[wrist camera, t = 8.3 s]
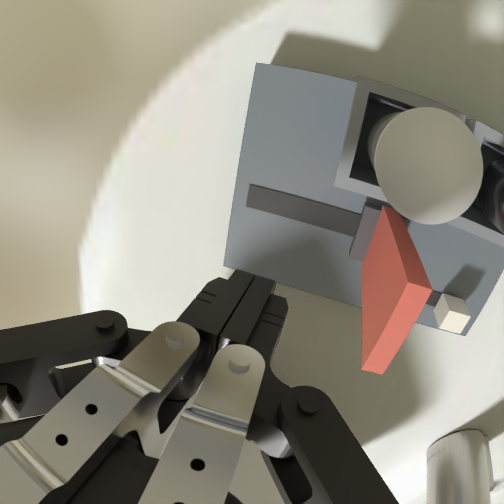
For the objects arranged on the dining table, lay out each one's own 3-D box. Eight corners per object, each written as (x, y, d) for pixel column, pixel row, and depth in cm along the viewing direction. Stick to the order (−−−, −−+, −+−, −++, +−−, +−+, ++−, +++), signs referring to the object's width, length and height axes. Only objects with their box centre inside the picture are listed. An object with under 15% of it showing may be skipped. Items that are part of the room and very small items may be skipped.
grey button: (446, 125, 11) (494, 134, 6) (426, 197, 12) (461, 238, 8) (374, 99, 11) (391, 90, 7) (356, 173, 13) (362, 204, 9)
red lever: (409, 210, 17) (454, 296, 9) (387, 268, 20) (402, 379, 11) (366, 195, 18) (381, 274, 9) (346, 256, 20) (338, 363, 11)
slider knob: (463, 299, 18) (470, 316, 17) (453, 316, 19) (460, 334, 17) (442, 293, 19) (449, 310, 17) (433, 310, 20) (438, 328, 18)
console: (523, 157, 15) (581, 182, 8) (457, 315, 22) (479, 379, 16) (267, 68, 19) (227, 48, 12) (236, 249, 26) (194, 301, 19)
